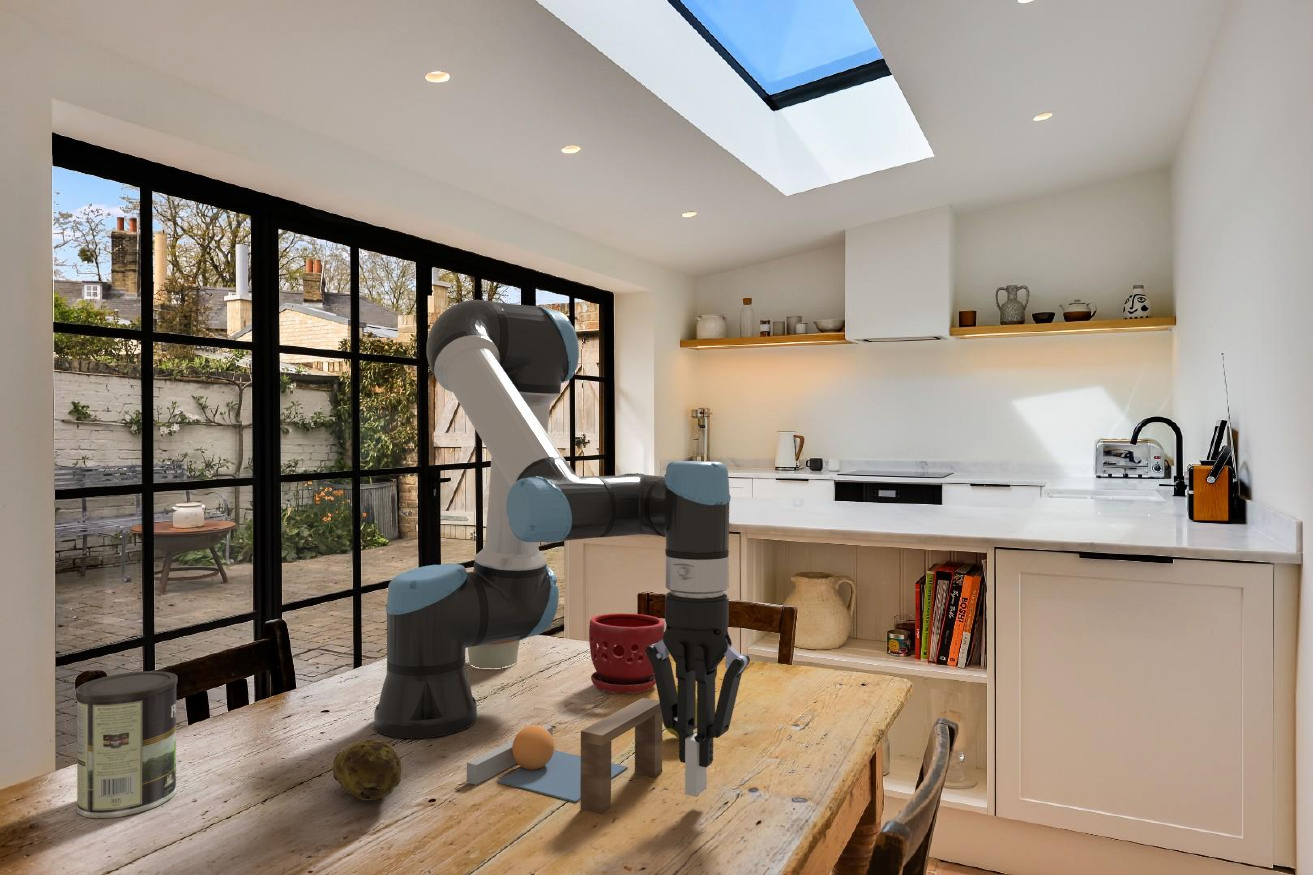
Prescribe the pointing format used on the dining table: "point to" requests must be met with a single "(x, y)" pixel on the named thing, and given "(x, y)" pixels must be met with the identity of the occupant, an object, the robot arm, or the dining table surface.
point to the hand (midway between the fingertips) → (695, 791)
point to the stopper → (493, 762)
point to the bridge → (598, 750)
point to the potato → (368, 769)
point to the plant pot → (623, 651)
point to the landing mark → (555, 777)
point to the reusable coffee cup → (494, 654)
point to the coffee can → (126, 743)
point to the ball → (533, 747)
